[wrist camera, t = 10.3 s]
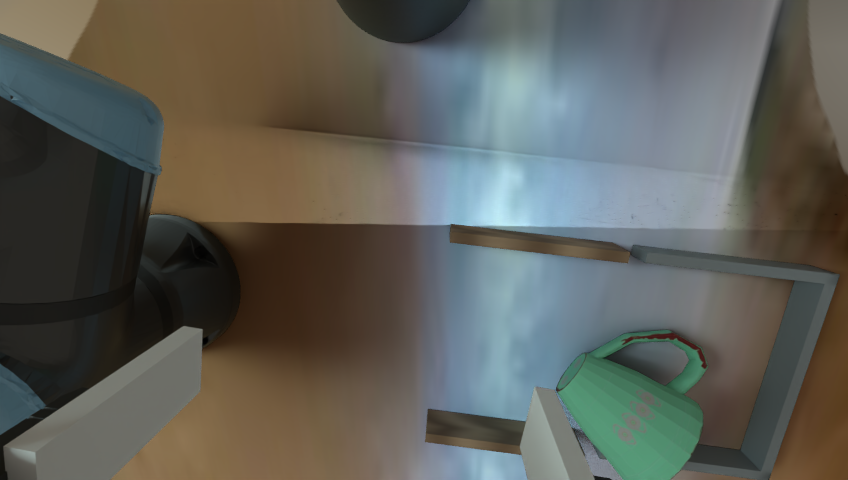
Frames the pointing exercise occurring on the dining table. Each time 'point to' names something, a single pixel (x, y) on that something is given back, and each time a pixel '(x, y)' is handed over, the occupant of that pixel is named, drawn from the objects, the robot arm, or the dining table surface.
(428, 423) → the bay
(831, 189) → the dining table surface
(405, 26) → the vase
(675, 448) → the mug
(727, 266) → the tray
